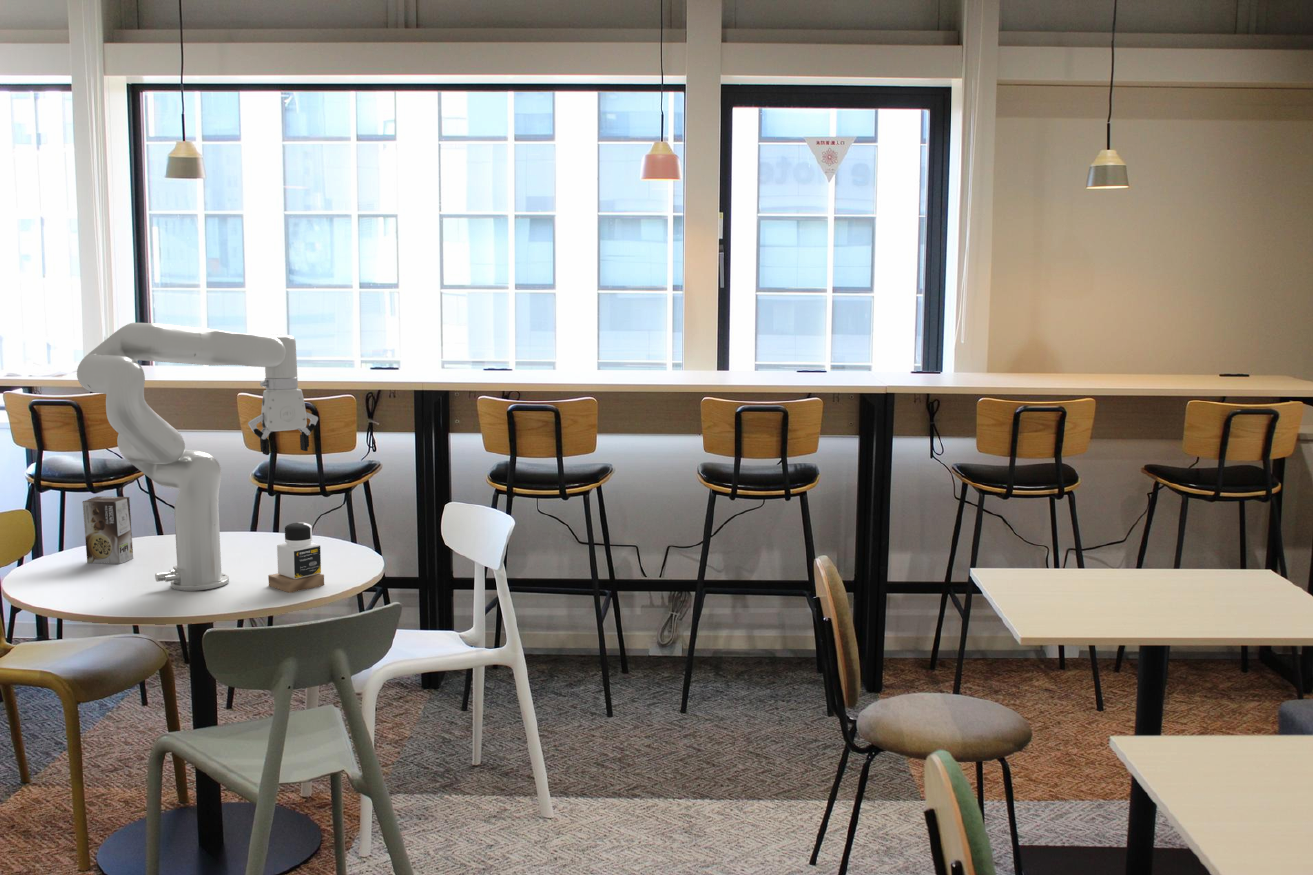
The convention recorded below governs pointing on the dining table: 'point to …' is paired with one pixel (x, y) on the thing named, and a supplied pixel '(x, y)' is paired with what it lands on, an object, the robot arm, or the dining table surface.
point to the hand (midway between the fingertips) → (285, 452)
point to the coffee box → (108, 529)
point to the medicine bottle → (298, 552)
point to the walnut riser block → (295, 582)
